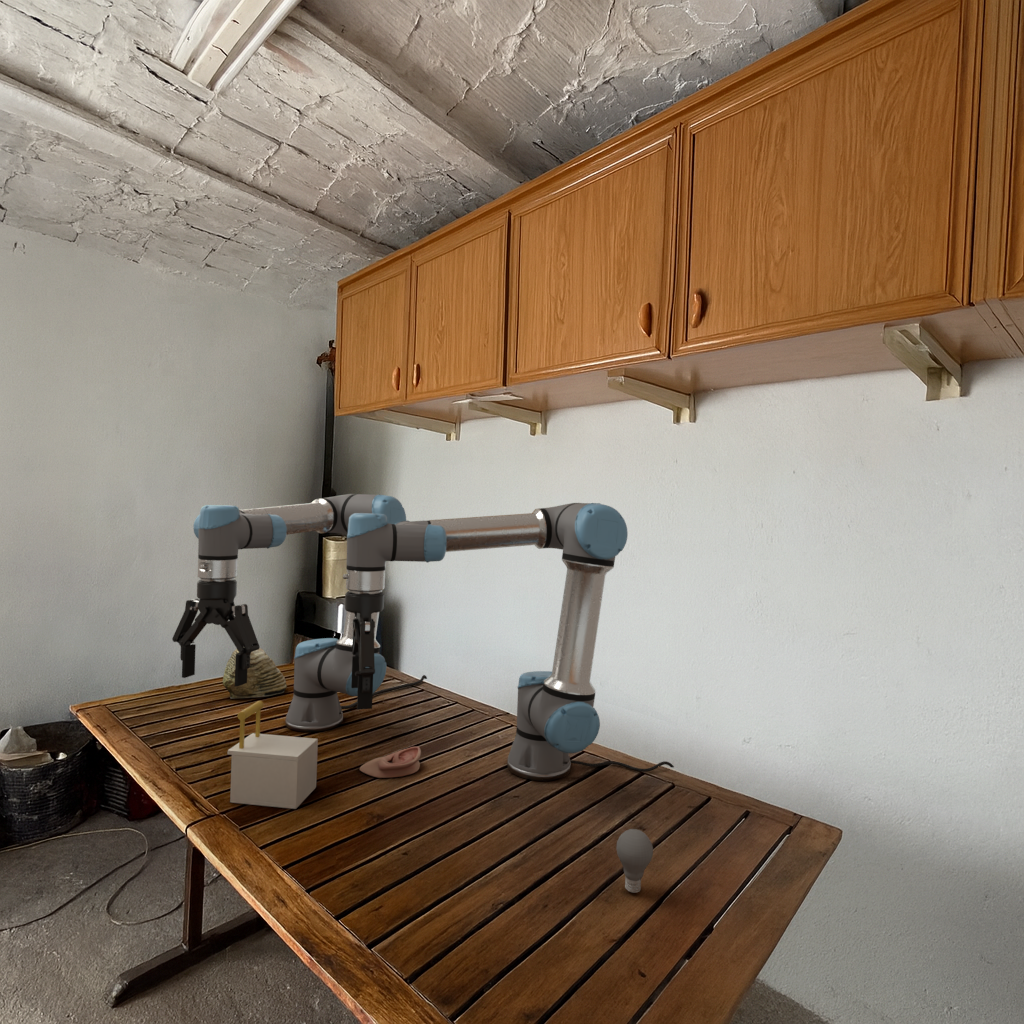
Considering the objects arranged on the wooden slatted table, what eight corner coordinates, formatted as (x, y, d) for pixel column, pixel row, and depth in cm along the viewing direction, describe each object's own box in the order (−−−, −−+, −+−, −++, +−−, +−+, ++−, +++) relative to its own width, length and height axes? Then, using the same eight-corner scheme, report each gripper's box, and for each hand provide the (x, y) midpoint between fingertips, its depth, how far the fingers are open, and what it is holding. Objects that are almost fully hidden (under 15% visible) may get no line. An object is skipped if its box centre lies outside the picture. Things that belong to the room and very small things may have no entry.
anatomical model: (354, 757, 144) (374, 739, 156) (353, 774, 145) (374, 755, 156) (409, 764, 142) (426, 745, 153) (408, 782, 142) (425, 762, 153)
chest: (229, 802, 130) (231, 755, 129) (254, 781, 139) (256, 737, 139) (295, 809, 128) (297, 761, 128) (316, 787, 138) (317, 742, 138)
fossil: (218, 695, 195) (220, 647, 195) (278, 685, 208) (279, 640, 207) (228, 703, 189) (230, 653, 188) (289, 692, 201) (290, 645, 201)
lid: (227, 754, 130) (228, 712, 129) (252, 736, 139) (253, 698, 139) (297, 760, 128) (299, 718, 128) (317, 742, 138) (319, 703, 138)
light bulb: (610, 879, 108) (613, 822, 108) (644, 879, 109) (647, 822, 109) (619, 902, 102) (622, 840, 102) (655, 901, 103) (658, 840, 103)
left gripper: (155, 576, 132) (152, 677, 133) (254, 586, 124) (250, 693, 125) (184, 572, 139) (181, 668, 140) (279, 581, 132) (276, 683, 132)
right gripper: (341, 582, 136) (337, 680, 136) (350, 601, 112) (346, 720, 113) (376, 582, 138) (373, 678, 139) (392, 601, 115) (388, 717, 115)
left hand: (214, 680), depth 132 cm, fingers open, 13 cm apart
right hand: (361, 697), depth 126 cm, fingers open, 13 cm apart
